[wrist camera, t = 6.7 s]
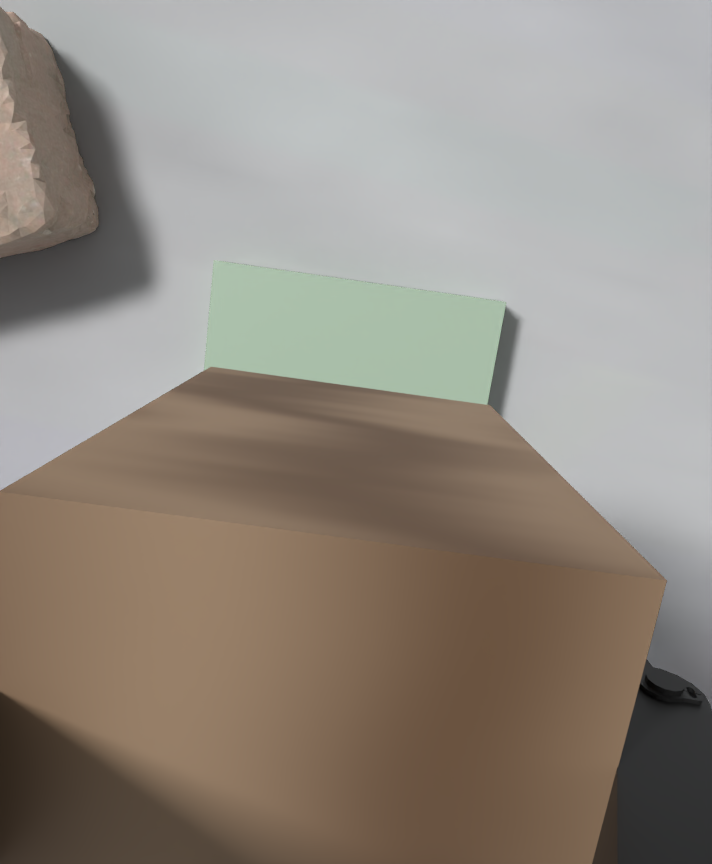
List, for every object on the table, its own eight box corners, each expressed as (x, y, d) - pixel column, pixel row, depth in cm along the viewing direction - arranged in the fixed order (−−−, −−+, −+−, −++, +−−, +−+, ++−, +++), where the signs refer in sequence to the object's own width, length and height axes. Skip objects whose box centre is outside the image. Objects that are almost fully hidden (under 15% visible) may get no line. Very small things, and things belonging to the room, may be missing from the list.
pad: (195, 527, 31) (189, 536, 30) (219, 261, 28) (213, 260, 27) (452, 561, 31) (455, 572, 30) (500, 301, 29) (506, 302, 28)
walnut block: (187, 621, 18) (-13, 1017, 8) (210, 366, 17) (-2, 492, 7) (443, 654, 18) (536, 1081, 9) (490, 405, 17) (666, 580, 7)
